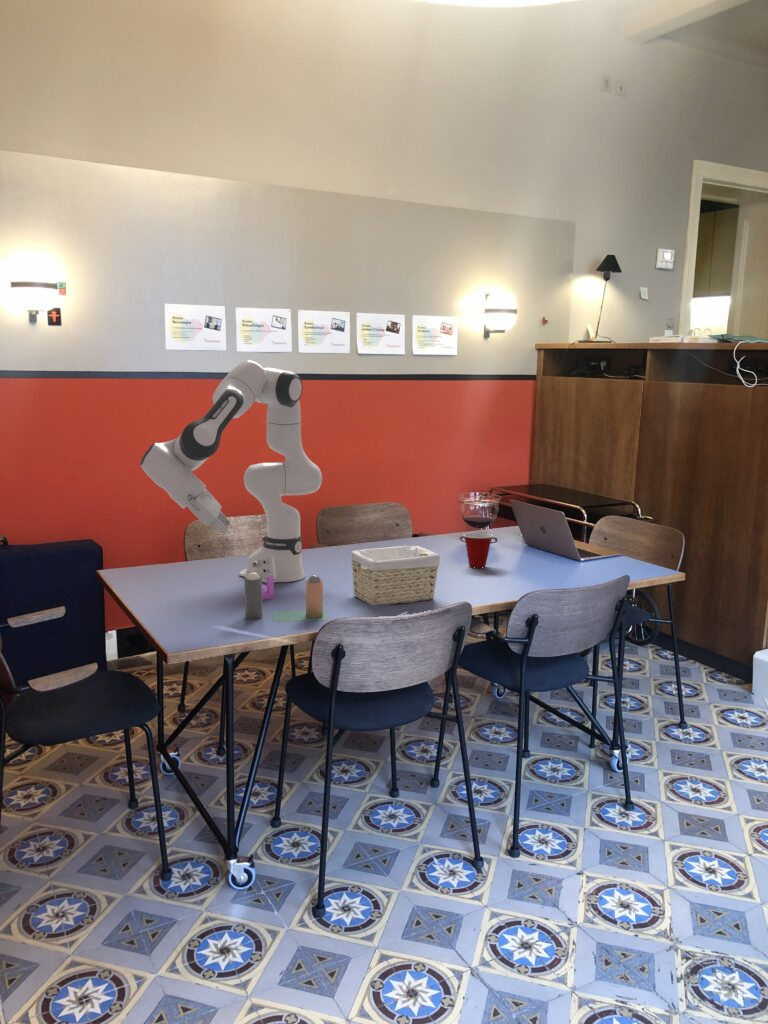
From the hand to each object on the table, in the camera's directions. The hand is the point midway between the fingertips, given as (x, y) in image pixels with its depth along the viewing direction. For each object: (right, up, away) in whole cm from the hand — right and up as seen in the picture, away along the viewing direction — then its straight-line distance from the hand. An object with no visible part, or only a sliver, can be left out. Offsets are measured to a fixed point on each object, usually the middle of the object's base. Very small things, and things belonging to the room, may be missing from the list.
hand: (227, 528), depth 216 cm
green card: (+19, -26, +6) cm, 33 cm away
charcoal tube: (+6, -26, +4) cm, 27 cm away
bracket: (+4, -21, +30) cm, 37 cm away
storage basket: (+46, -22, +27) cm, 58 cm away
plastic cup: (+77, -15, +68) cm, 104 cm away
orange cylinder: (+23, -25, +6) cm, 35 cm away
